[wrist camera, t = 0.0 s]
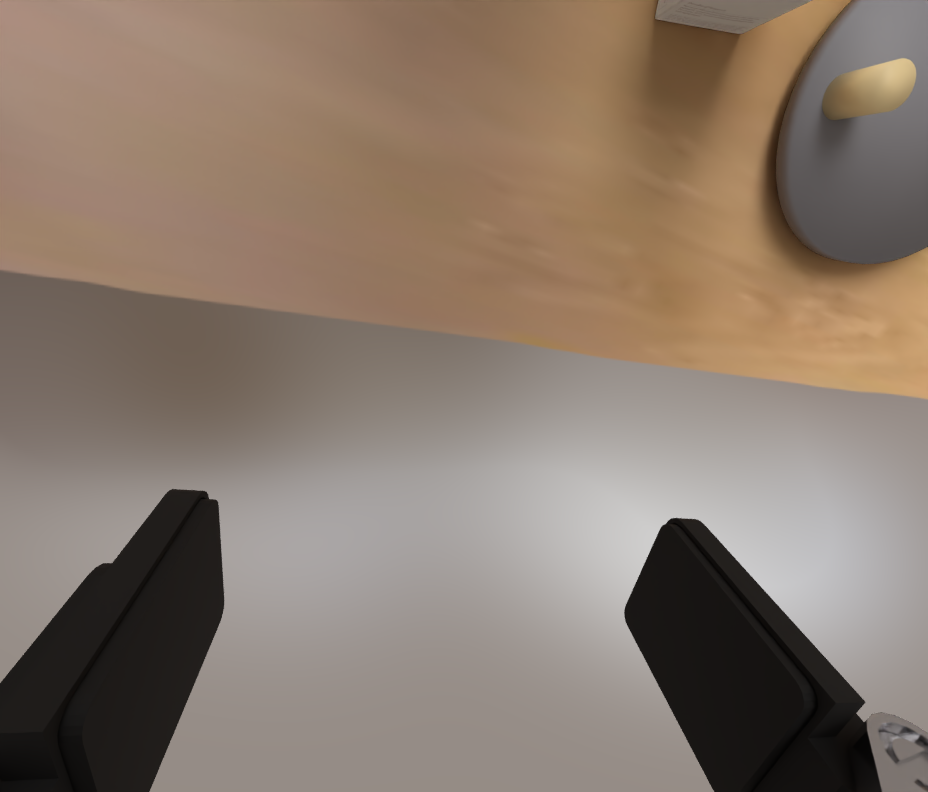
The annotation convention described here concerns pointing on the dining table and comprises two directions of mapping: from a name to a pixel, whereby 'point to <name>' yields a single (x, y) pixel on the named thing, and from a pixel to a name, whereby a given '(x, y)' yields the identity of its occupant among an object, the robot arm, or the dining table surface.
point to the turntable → (860, 136)
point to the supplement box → (724, 13)
